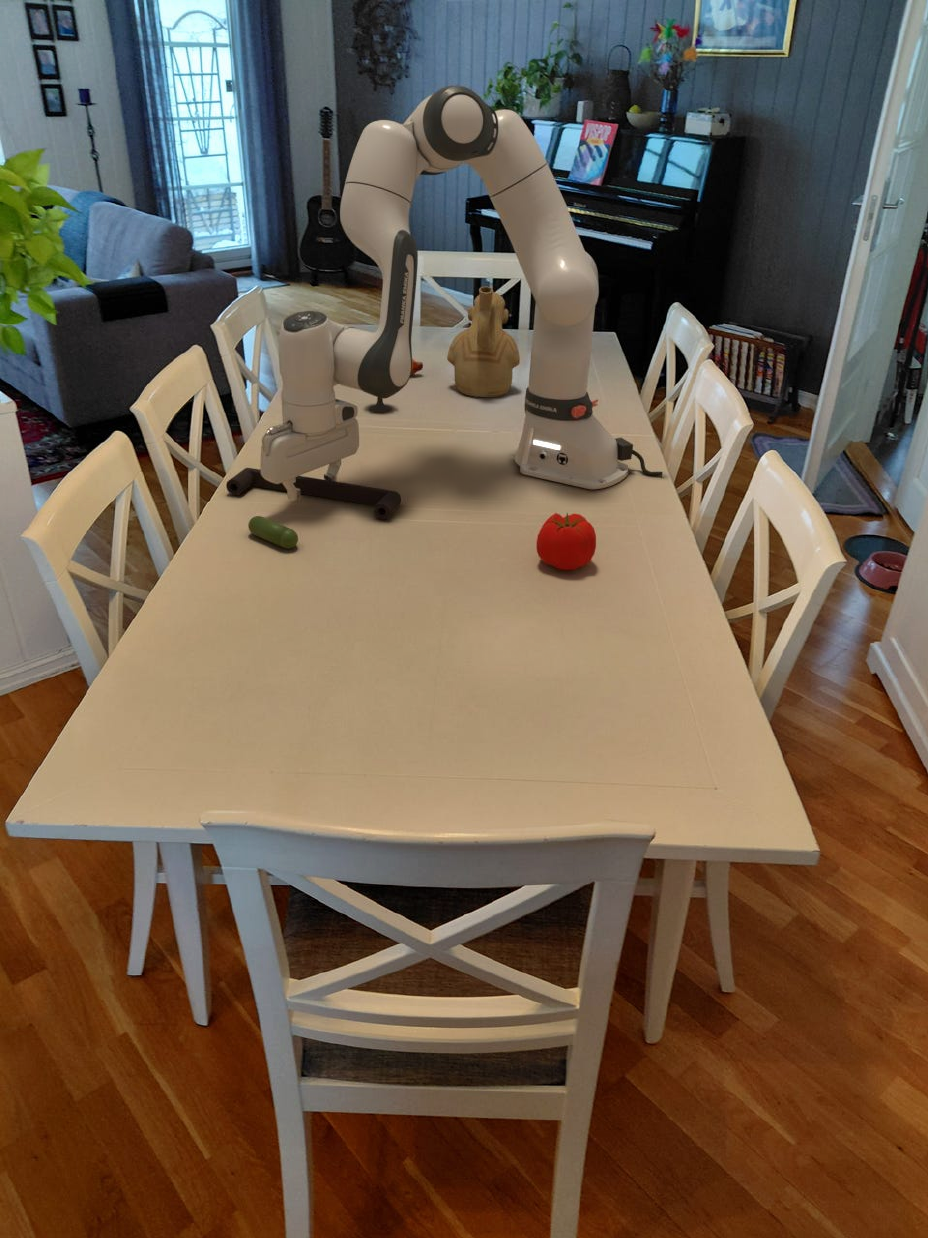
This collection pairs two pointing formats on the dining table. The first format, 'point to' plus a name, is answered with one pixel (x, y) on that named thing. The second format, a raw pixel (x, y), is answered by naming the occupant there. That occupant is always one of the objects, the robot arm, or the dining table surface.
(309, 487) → the handle
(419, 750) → the dining table surface
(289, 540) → the pickle
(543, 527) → the tomato
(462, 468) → the dining table surface
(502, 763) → the dining table surface
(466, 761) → the dining table surface
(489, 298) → the ceramic vessel
